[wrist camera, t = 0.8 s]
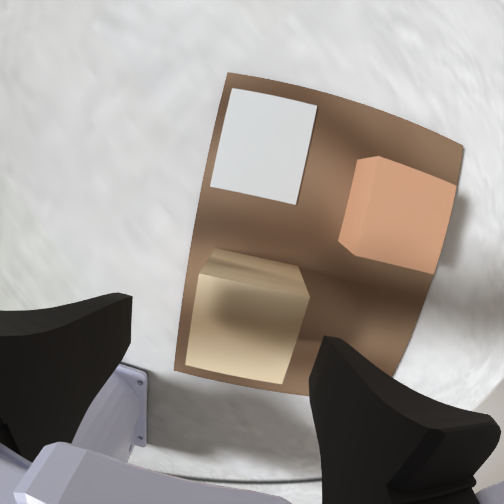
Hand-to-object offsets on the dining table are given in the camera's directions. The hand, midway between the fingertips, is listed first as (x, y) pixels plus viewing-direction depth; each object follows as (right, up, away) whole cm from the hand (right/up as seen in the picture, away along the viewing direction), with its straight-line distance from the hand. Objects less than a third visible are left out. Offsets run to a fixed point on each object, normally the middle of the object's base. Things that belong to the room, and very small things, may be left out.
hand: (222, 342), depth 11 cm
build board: (+5, +3, +8) cm, 10 cm away
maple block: (+1, +1, +8) cm, 8 cm away
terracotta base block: (+9, +6, +7) cm, 13 cm away
